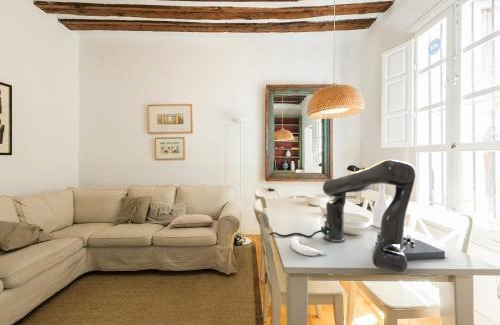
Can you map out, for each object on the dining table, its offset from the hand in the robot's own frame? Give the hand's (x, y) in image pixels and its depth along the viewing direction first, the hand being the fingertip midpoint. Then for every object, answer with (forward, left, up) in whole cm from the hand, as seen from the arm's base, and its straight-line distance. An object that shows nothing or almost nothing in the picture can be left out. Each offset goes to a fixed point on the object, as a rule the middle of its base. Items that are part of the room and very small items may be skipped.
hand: (396, 235), depth 105 cm
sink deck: (+7, +1, -9) cm, 12 cm away
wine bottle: (+22, +40, -9) cm, 47 cm away
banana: (-41, +10, -9) cm, 43 cm away
